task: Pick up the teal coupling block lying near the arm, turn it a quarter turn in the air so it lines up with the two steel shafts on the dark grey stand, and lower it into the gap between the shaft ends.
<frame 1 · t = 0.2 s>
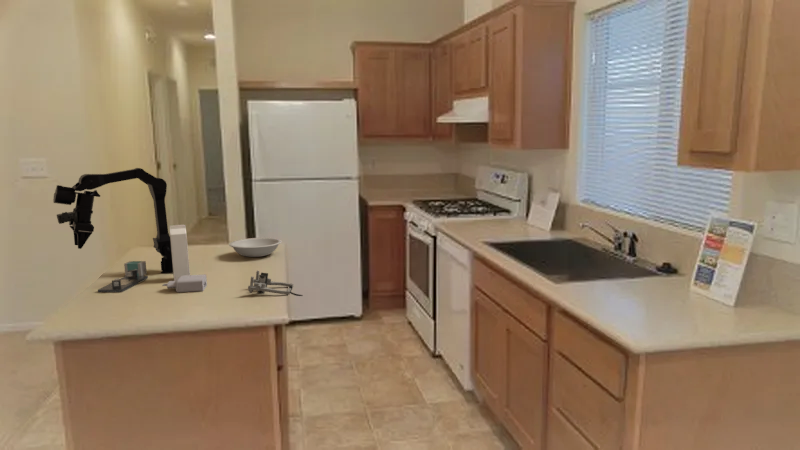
hand: (77, 246, 221), 15 cm above the worktop, fingers open, 9 cm apart
bike brake: (277, 292, 210), on the worktop
shaft stand: (124, 284, 223), on the worktop
milk: (182, 279, 230), on the worktop
charger: (184, 290, 215), on the worktop
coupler: (136, 275, 238), on the worktop
soup bowl: (256, 256, 271), on the worktop
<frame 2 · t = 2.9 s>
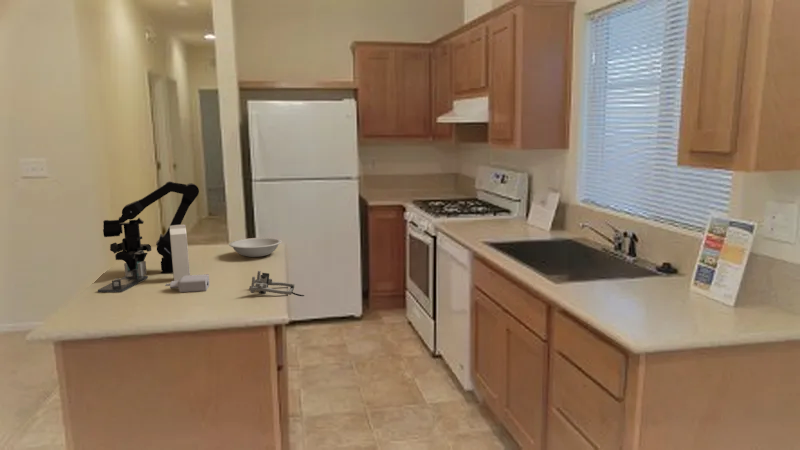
hand: (135, 272, 238), 1 cm above the worktop, fingers closed on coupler, 4 cm apart
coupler: (136, 275, 238), on the worktop, touching gripper
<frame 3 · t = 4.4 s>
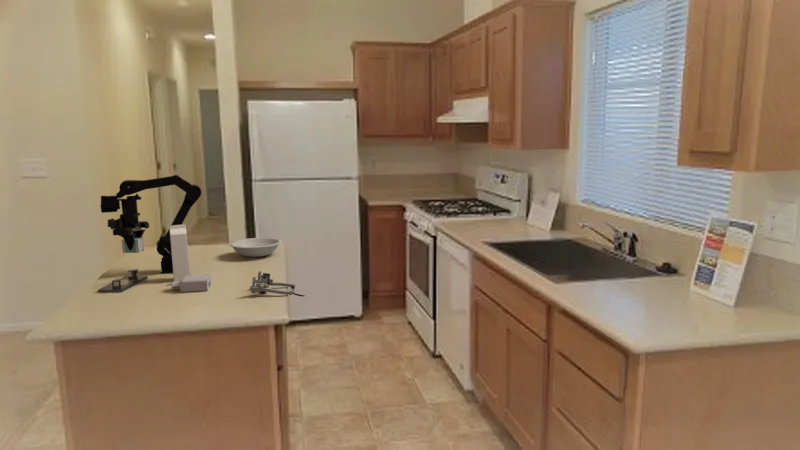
hand: (133, 248, 236), 11 cm above the worktop, fingers closed on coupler, 4 cm apart
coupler: (133, 251, 237), point 10 cm above the worktop, touching gripper
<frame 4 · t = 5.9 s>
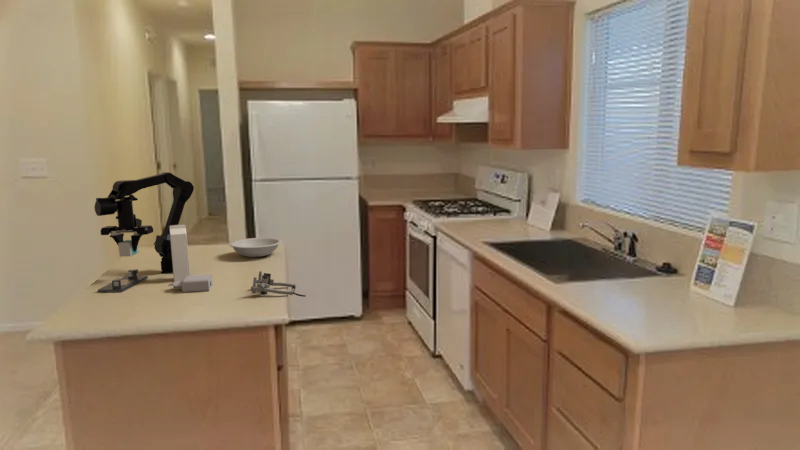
hand: (129, 251, 229), 11 cm above the worktop, fingers closed on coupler, 4 cm apart
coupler: (129, 254, 229), point 10 cm above the worktop, touching gripper
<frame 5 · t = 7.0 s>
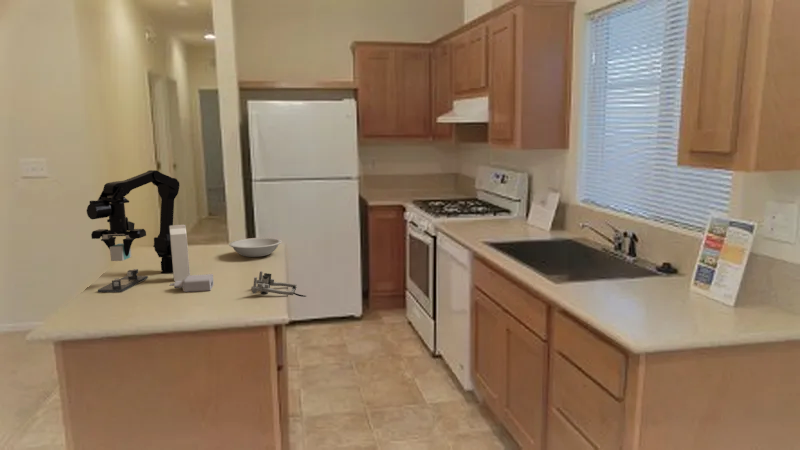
hand: (121, 255, 221), 12 cm above the worktop, fingers closed on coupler, 4 cm apart
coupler: (121, 258, 221), point 10 cm above the worktop, touching gripper
when the fingers open (3 cm above the worktop, at t = 9.2 s): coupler drops 1 cm, resting on shaft stand.
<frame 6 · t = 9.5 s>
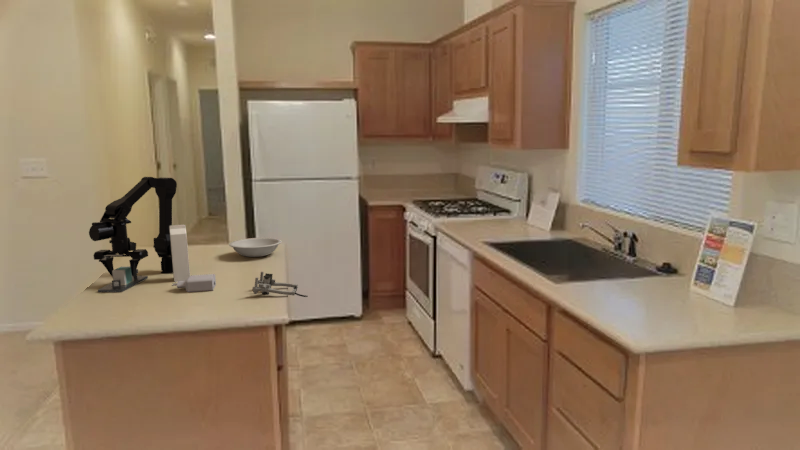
hand: (123, 276, 222), 3 cm above the worktop, fingers open, 8 cm apart
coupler: (123, 282, 223), point 1 cm above the worktop, touching shaft stand
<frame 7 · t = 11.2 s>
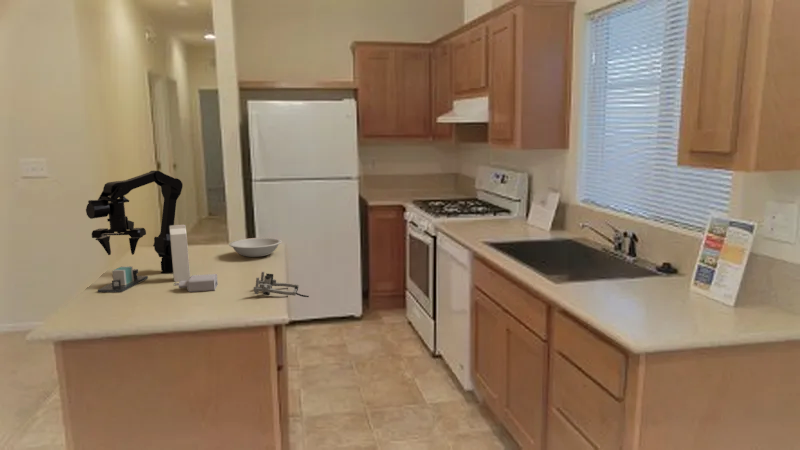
hand: (121, 254, 224), 11 cm above the worktop, fingers open, 9 cm apart
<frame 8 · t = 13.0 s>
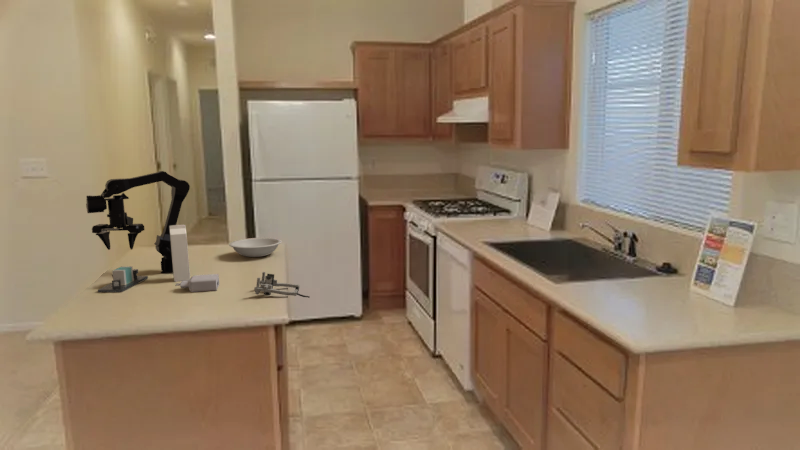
hand: (120, 249, 231), 12 cm above the worktop, fingers open, 9 cm apart
at the end: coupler 0.1 cm off-centre on the shaft stand, point 1.1 cm above the shaft stand's base; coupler tilted 0°; the gripper is holding nothing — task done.
